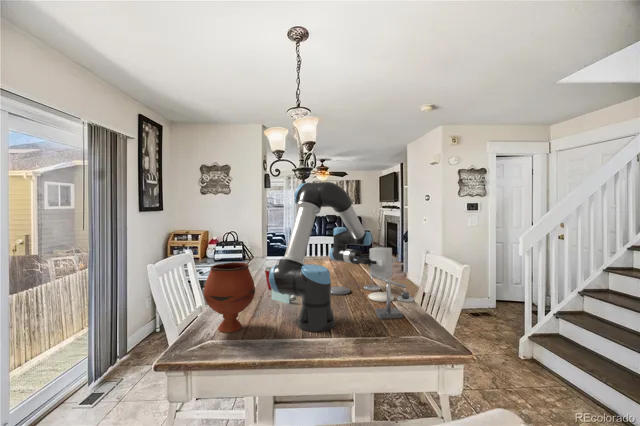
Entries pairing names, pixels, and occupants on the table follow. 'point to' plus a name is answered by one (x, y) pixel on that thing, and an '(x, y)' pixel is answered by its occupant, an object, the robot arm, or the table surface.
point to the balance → (389, 299)
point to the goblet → (229, 292)
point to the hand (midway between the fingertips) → (388, 261)
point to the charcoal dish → (339, 290)
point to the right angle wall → (282, 297)
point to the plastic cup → (267, 272)
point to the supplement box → (386, 256)
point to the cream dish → (379, 296)
